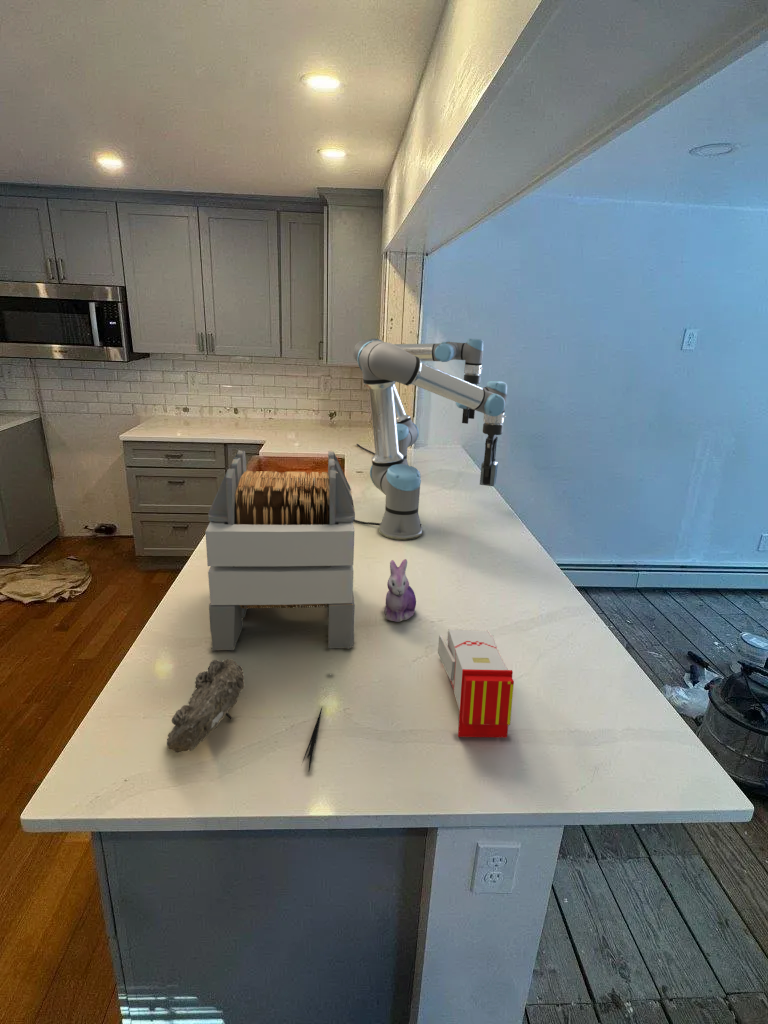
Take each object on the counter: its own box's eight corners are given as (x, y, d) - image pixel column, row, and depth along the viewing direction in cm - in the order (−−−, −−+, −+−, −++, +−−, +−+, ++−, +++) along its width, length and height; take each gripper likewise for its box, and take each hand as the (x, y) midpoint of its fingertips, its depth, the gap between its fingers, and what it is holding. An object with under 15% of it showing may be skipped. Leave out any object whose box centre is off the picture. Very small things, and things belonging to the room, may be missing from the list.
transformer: (231, 583, 159) (223, 441, 145) (347, 582, 163) (350, 443, 149) (209, 653, 127) (196, 479, 114) (354, 649, 131) (359, 481, 117)
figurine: (392, 627, 141) (395, 572, 136) (374, 608, 149) (376, 556, 144) (425, 619, 145) (429, 566, 140) (405, 601, 154) (408, 550, 149)
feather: (331, 679, 122) (336, 673, 122) (307, 777, 96) (313, 769, 95) (324, 675, 122) (329, 669, 121) (298, 772, 95) (304, 764, 95)
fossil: (192, 660, 117) (244, 628, 112) (224, 691, 120) (276, 661, 115) (142, 746, 98) (202, 712, 93) (182, 779, 101) (242, 748, 96)
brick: (493, 486, 219) (495, 465, 216) (479, 484, 221) (481, 463, 218) (495, 483, 224) (498, 462, 221) (482, 481, 226) (484, 460, 223)
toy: (488, 613, 130) (523, 677, 101) (484, 667, 133) (517, 744, 104) (435, 612, 130) (455, 676, 101) (432, 666, 133) (451, 743, 103)
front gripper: (499, 428, 205) (493, 489, 213) (507, 420, 221) (500, 477, 229) (478, 426, 207) (473, 487, 215) (487, 418, 224) (482, 475, 231)
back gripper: (475, 377, 245) (470, 426, 252) (485, 372, 267) (481, 417, 274) (458, 376, 247) (454, 424, 254) (470, 371, 269) (465, 415, 277)
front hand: (487, 481), depth 222 cm, fingers closed on brick, 5 cm apart
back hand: (468, 420), depth 264 cm, fingers open, 13 cm apart
